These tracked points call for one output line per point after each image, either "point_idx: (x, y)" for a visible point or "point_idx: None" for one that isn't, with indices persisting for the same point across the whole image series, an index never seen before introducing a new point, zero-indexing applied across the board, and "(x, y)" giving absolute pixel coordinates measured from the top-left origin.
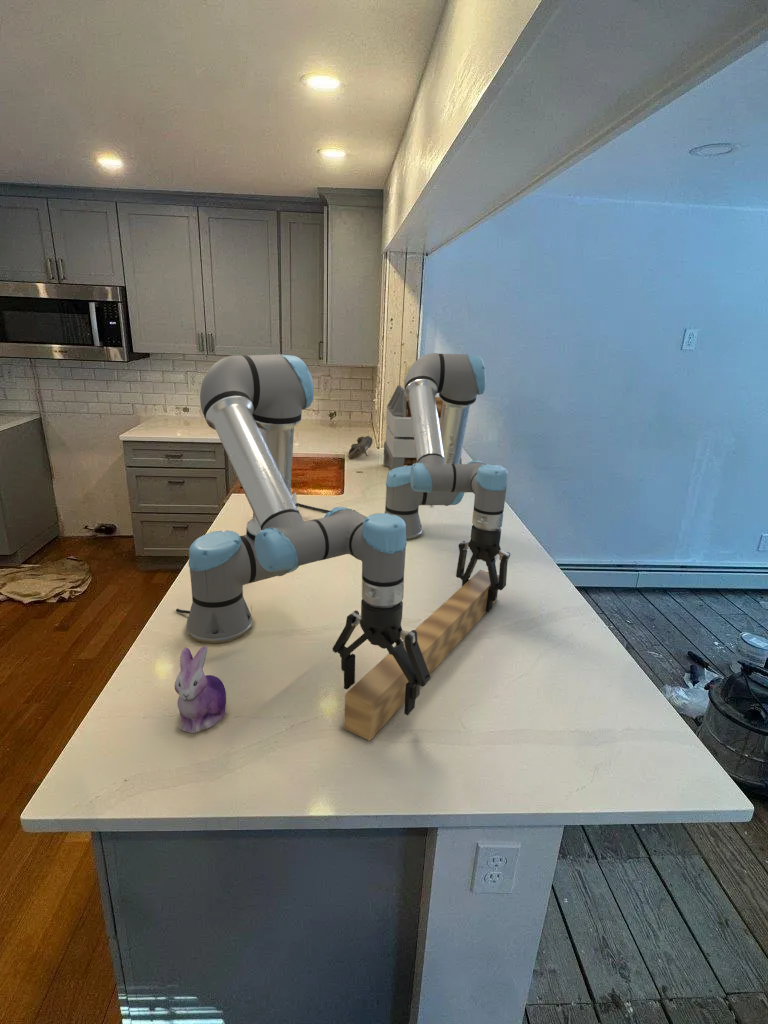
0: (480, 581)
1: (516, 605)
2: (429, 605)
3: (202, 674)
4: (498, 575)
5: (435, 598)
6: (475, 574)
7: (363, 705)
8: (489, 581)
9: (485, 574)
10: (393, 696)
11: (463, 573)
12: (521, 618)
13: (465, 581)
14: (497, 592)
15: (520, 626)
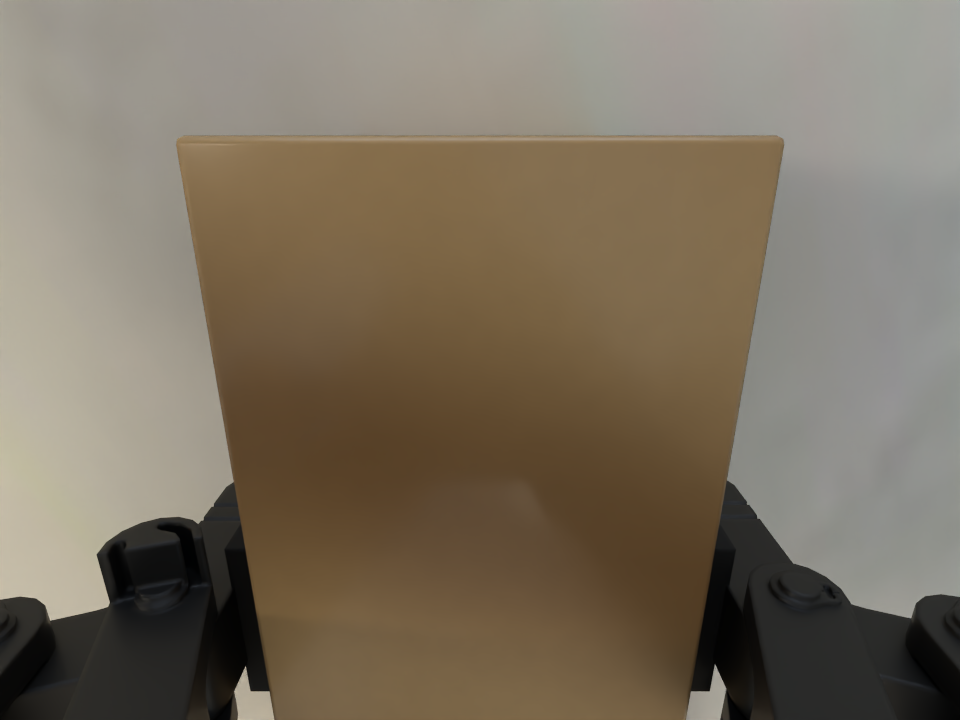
0: (483, 687)
1: (858, 94)
2: (106, 604)
3: None
4: (759, 191)
5: (54, 475)
6: (243, 479)
7: None
8: (638, 595)
9: (433, 340)
10: None
11: (54, 707)
12: (939, 353)
13: (234, 703)
14: (772, 544)
15: (938, 491)
